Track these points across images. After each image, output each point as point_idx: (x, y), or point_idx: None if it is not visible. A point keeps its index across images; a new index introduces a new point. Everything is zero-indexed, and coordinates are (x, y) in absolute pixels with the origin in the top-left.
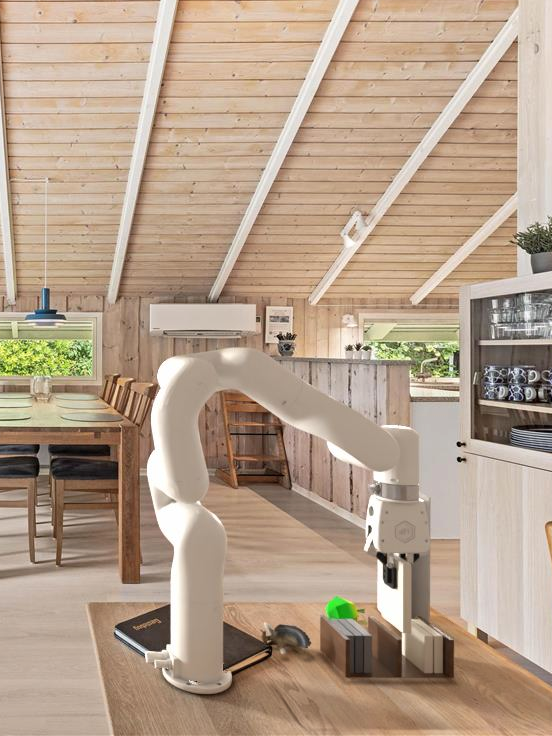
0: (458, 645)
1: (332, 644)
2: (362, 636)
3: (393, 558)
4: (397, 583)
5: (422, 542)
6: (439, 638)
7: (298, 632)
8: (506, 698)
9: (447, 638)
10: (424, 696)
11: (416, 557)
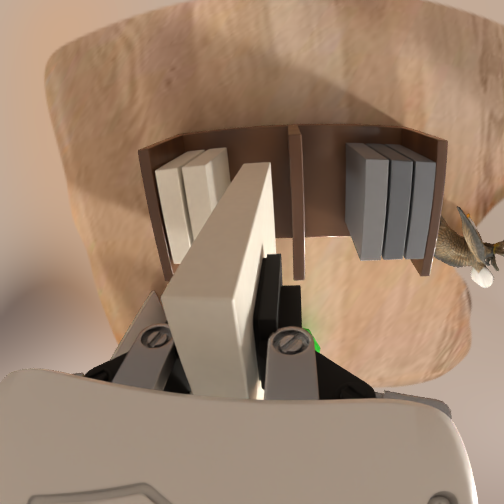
0: (114, 272)
1: None
2: (392, 160)
3: (265, 378)
4: (259, 263)
5: (4, 430)
6: (166, 167)
7: (473, 236)
8: (113, 98)
9: (149, 157)
10: (266, 77)
11: (101, 372)
